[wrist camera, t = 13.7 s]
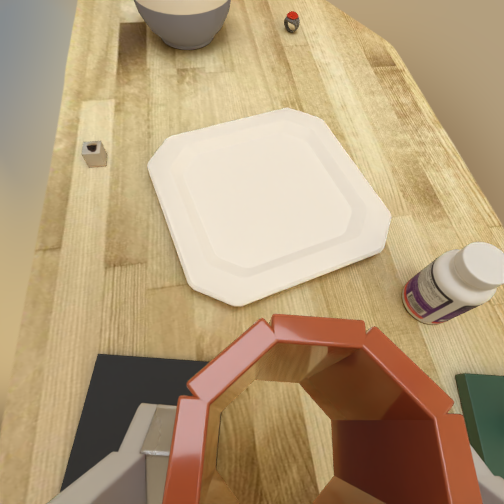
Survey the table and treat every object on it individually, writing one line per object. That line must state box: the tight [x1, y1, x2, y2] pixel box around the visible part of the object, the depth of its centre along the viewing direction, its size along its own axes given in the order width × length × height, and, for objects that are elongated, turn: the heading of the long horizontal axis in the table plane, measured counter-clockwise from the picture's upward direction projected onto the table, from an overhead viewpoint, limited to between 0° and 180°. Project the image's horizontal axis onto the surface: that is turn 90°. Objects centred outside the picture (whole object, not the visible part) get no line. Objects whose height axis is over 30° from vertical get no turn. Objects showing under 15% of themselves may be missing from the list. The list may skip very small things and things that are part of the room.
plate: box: [147, 108, 391, 306], centre depth 39 cm, size 25×25×2 cm
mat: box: [60, 354, 221, 493], centre depth 28 cm, size 12×12×1 cm
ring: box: [284, 11, 299, 32], centre depth 57 cm, size 2×3×3 cm
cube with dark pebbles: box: [82, 141, 107, 167], centre depth 40 cm, size 2×2×2 cm
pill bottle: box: [402, 242, 504, 324], centre depth 31 cm, size 5×5×10 cm
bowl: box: [134, 0, 231, 50], centre depth 51 cm, size 16×16×10 cm
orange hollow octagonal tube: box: [162, 314, 483, 504], centre depth 10 cm, size 6×6×8 cm
